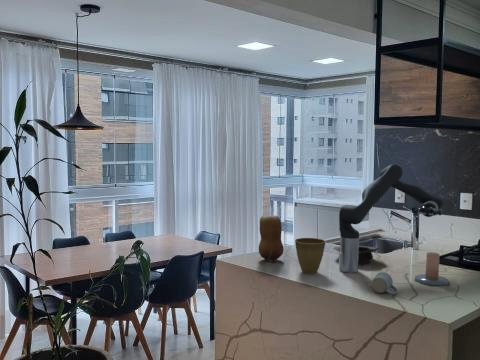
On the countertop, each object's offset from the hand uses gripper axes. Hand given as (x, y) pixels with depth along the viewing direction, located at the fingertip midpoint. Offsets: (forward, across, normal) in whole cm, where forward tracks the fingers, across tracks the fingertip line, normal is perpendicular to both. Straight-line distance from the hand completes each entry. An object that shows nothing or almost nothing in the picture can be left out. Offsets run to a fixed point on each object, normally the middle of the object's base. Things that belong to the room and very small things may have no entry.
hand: (424, 212), depth 236 cm
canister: (+16, +7, +29) cm, 34 cm away
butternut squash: (+23, -74, +30) cm, 83 cm away
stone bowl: (-3, -35, +30) cm, 47 cm away
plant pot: (+33, -48, +30) cm, 66 cm away
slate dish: (+16, +7, +30) cm, 35 cm away
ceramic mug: (+44, -9, +30) cm, 54 cm away
